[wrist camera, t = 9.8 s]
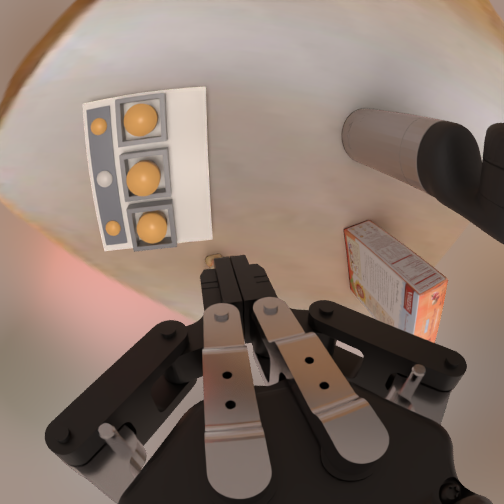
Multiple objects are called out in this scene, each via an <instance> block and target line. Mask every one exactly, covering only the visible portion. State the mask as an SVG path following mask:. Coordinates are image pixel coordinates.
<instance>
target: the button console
mask: <svg viewBox="0 0 504 504" xmlns="http://www.w3.org/2000/svg"><path fill="white" fill-rule="evenodd" d="M136 104H148V105H151V106H152V107H154V108H155V110H156V111H157V113H158V123H157V125H156V127H155V128H154V130H153V131H151V132H150V133H148V134H147V135H144V136H134V135H131V134H130V133H129V132H127V130H126V129H125V126H124V116H125V114H126V112H127V111H128V109H129V108H131V107H132V106H134V105H136ZM83 119H84V131H85V142H86V151H87V159H88V167H89V174H90V180H91V187H92V193H93V199H94V204H95V209H96V215H97V220H98V224H99V229H100V234H101V238H102V242H103V247H104V251H110V250H119V249H128V248H133V250H134V251H143V250H152V249H162V248H171V247H177V243H183V242H192V241H202V240H212V239H213V237H212V222H211V206H210V188H209V168H208V144H207V113H206V87H191V88H178V89H168V90H159V91H151V92H143V93H136V94H130V95H124V96H118V97H112V98H107V99H102V100H97V101H92V102H88V103H83ZM142 160H149V161H152V162H154V163H155V164H156V165H157V166H158V167H159V169H160V172H161V179H160V183H159V185H158V188H157V189H156V191H155V192H153V193H152V194H150V195H148V196H137V195H135V194H133V193H132V192H131V191H130V190H129V188H128V186H127V182H126V178H127V174H128V172H129V170H130V169H131V168H132V167H133V165H134V164H136V163H137V162H139V161H142ZM156 210H158V211H160V212H162V213H163V214H164V215H165V217H166V218H167V223H168V224H167V232H166V235H165V237H164V238H163V239H162V240H161V241H160V242H157V243H147V242H145V241H143V240H142V239H141V238H140V237H139V236H138V233H137V224H138V221H139V219H140V216H141V215H142V214H143V213H144V212H147V211H156Z"/></svg>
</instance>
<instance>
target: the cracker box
mask: <svg viewBox="0 0 504 504" xmlns="http://www.w3.org/2000/svg"><path fill="white" fill-rule="evenodd" d="M344 234H345V242H346V250H347V258H348V267H349V276H350V288H351V290H352V292H353V293H354V294H355V295H356V296H357V297H358V299H359V300H360V301H361V302H362V304H363V305H364V306H365V307H366V308H367V310H368V311H369V312H370V313H371V314H372V316H373V317H374V318H375V319H376V320H378V321H381V322H383V323H386V324H388V325H391V326H393V327H396V328H398V329H401V330H403V331H406V332H408V333H411V334H413V335H416V336H418V337H421V338H423V339H426V340H428V341H431V342H433V343H435V339H436V335H437V332H438V328H439V323H440V319H441V314H442V309H443V304H444V299H445V294H446V287H447V282H448V279H447V278H446V277H445V276H444V275H443V274H441V273H440V272H439V271H437V270H436V269H435V268H434V267H433V266H431V265H430V264H429V263H428V262H426V261H425V260H424V259H422V258H421V257H420V256H418V255H417V254H416V253H414V252H413V251H412V250H411V249H409V248H408V247H406V246H405V245H404V244H402V243H401V242H400V241H398V240H397V239H396V238H394V237H393V236H391V235H390V234H389V233H387V232H386V231H384V230H383V229H382V228H380V227H379V226H377V225H376V224H374V223H373V222H372V221H370V220H368V221H366V222H363V223H360V224H358V225H355V226H352V227H349V228H347V229H344Z"/></svg>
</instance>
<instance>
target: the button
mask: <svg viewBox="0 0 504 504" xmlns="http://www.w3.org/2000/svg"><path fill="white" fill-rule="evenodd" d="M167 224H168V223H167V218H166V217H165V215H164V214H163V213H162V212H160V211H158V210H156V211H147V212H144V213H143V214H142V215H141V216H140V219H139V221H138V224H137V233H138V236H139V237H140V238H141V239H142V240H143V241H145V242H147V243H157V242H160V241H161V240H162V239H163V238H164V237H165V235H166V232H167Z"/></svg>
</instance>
